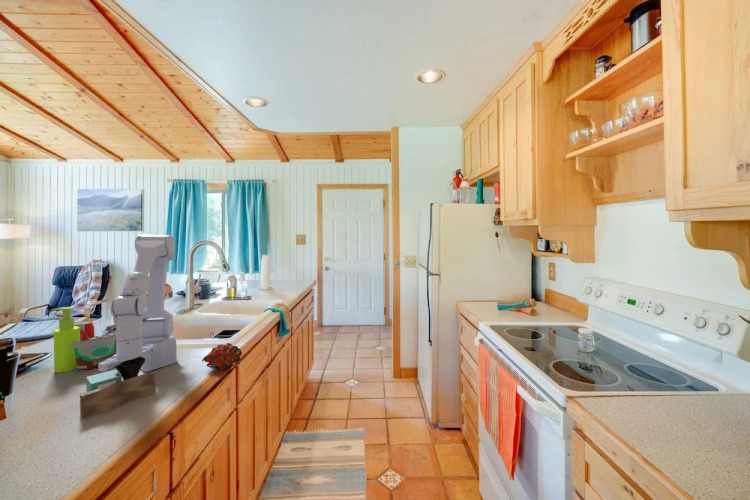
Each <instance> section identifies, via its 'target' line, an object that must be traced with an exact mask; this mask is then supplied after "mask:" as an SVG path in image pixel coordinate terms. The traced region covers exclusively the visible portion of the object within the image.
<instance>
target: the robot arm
mask: <svg viewBox="0 0 750 500" xmlns="http://www.w3.org/2000/svg"><path fill="white" fill-rule="evenodd" d="M134 248H135V251H136V254H137V258H136V262H135V266H134V270H133V272H132V273H129V274H128V275H127V276H126V279H125V281H124V284H123V286H122V289H121V291H120V293H119V295H118V296H117V297H115V298H114V299H113V300H112V302H111V305H110V313H111V316H112V318H113V319H112V321H113V324H115V333H116V340H115V343H116V344H115V346H116V347H115V348H116V352H115V355H113V357H111V358H109V359H107V360H105V361H103V362H101V363H98V369H97V370H98V371H100V372H107V371H108V370H109V369H111V368H115V369H116V370H117V371H118V372H119V373H120V374H121V376H122V381H124V380H127V379H130V378H133V377H137V376H139V373H140V371H143V372H144V373H149V372H152V371H153V370H156V369H160V368H163V367H166V366H169V365H173V364H176V363H178V360H177V359H178V357H177V355H178V354H177V340H176V338H175V336H174V335H172V334H173V331H174V316H173V314H172V313H171V312H169V311H168V310H166V309H165V297H166V287H167V275H168V274H167V273H168V265H169V262H170V261H172V260H174V258H175V248H176V241H175V239H174V237H173V236H172V235H171V234H167V235H161V234H160V235H159V234H158V235H156V234H142V233H139V234H137V236H136V237H135V239H134Z"/></svg>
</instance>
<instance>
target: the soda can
mask: <svg viewBox="0 0 750 500" xmlns="http://www.w3.org/2000/svg"><path fill="white" fill-rule="evenodd" d="M92 322H93V321H92V320H80V321H79V320H78V321H74V326H78V327H80V341H85V340H87V339H89V338H92V337H95V335H96V334H95V325H94V324H93V323H92Z"/></svg>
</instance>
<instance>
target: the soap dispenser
mask: <svg viewBox="0 0 750 500" xmlns="http://www.w3.org/2000/svg"><path fill="white" fill-rule="evenodd" d="M72 310H75V308H74V307H73V306H71V307H70V306H62V307H55V308H52V309H50V311H51V312H53V311H62V317H60V318H59V319H58V328H56V329H54V330H53V355H54V356H53V357H54V358H53V361H54V363H53V364H54V366H53V367H54V373H57V374H58V373H60V374H61V373H67V372H72V371H75V370H77V366H76V359H75V353H74V348H71V346H72V343H73V341H80V327H78V326H74V322H75V317H74V316H72V315H71V311H72Z"/></svg>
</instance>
